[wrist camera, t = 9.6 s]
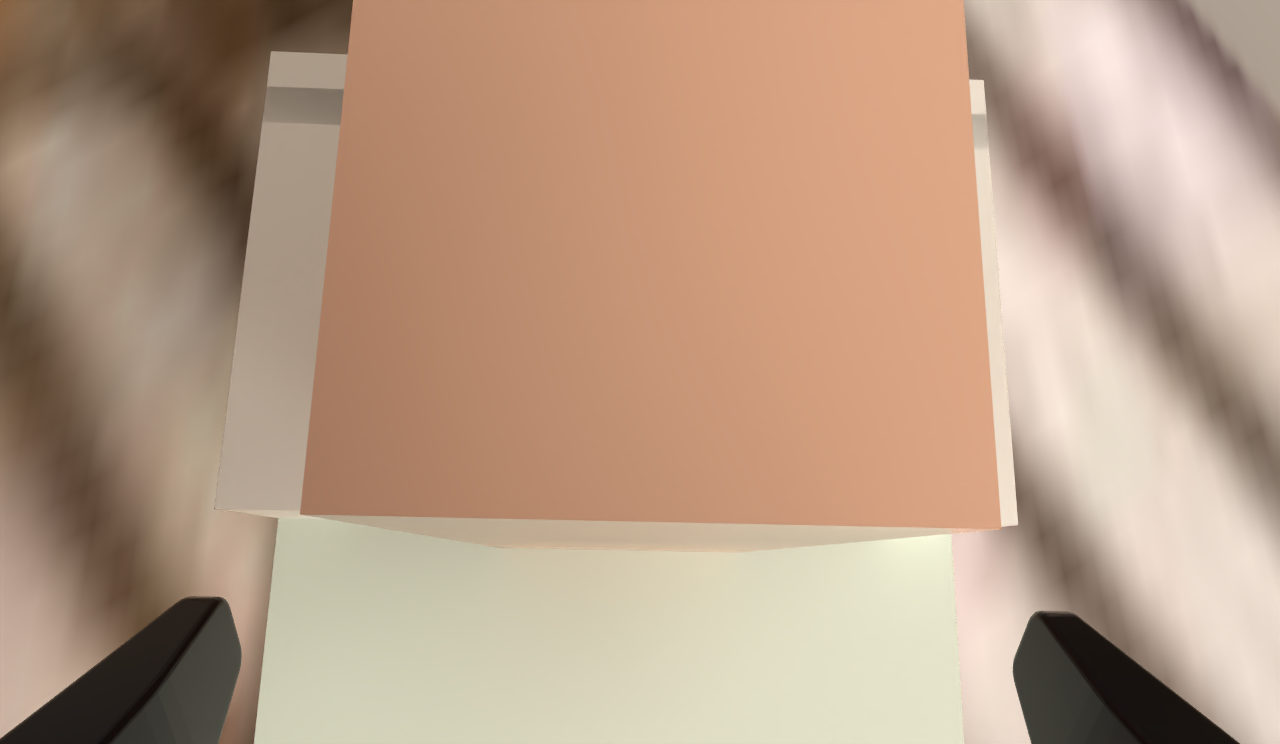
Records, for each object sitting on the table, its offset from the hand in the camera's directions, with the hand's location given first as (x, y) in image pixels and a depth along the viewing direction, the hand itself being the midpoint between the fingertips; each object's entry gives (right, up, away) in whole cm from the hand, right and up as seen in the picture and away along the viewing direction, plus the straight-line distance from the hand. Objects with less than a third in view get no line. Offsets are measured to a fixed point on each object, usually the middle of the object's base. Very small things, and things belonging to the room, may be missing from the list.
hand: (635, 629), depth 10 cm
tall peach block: (0, +2, +9) cm, 9 cm away
